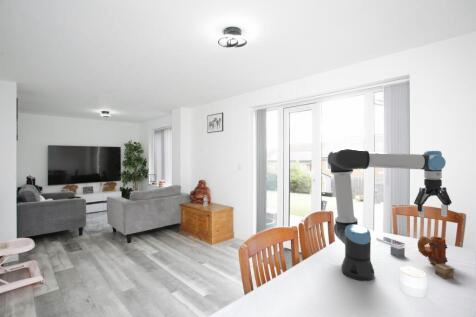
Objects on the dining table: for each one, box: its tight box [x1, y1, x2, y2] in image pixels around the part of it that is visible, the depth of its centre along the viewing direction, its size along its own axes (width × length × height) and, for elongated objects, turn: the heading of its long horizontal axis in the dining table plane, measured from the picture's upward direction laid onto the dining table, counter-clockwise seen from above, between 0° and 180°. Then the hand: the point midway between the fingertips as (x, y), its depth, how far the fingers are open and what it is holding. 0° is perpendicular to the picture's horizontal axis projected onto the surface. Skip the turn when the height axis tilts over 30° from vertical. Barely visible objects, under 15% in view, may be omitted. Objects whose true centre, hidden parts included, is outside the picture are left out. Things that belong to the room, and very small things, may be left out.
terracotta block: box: [418, 243, 430, 253], centre depth 145 cm, size 5×5×5 cm
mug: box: [417, 235, 448, 265], centre depth 131 cm, size 15×8×15 cm, turn 84°
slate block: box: [390, 244, 406, 258], centre depth 143 cm, size 5×5×5 cm
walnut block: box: [434, 264, 455, 280], centre depth 118 cm, size 5×5×5 cm
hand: (432, 217), depth 131 cm, fingers open, 13 cm apart
